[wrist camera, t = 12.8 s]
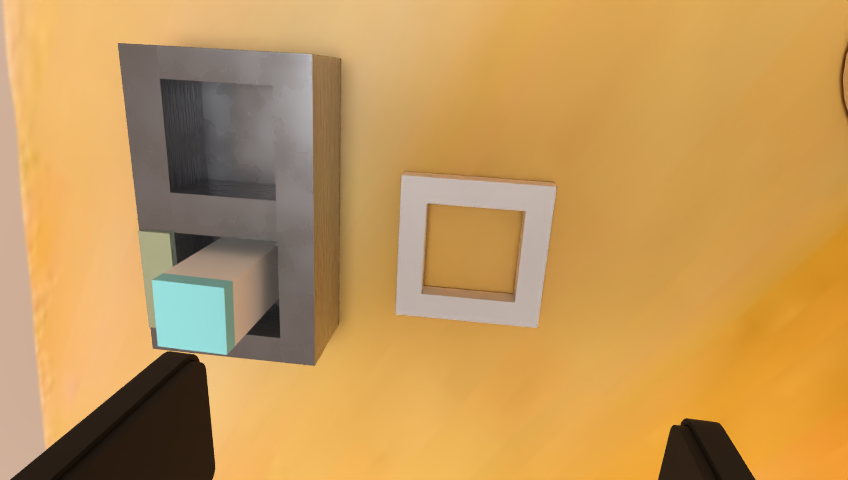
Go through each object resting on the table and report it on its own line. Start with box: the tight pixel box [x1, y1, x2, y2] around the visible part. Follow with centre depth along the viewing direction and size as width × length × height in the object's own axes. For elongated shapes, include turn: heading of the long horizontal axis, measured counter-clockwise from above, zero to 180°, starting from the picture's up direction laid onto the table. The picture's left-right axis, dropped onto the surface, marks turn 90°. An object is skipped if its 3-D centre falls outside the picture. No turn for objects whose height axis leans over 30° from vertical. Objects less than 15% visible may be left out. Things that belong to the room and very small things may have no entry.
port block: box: [118, 43, 341, 366], centre depth 33 cm, size 11×19×6 cm, turn 177°
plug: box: [152, 237, 279, 355], centre depth 32 cm, size 4×4×9 cm
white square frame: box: [396, 171, 557, 328], centre depth 35 cm, size 10×10×2 cm
